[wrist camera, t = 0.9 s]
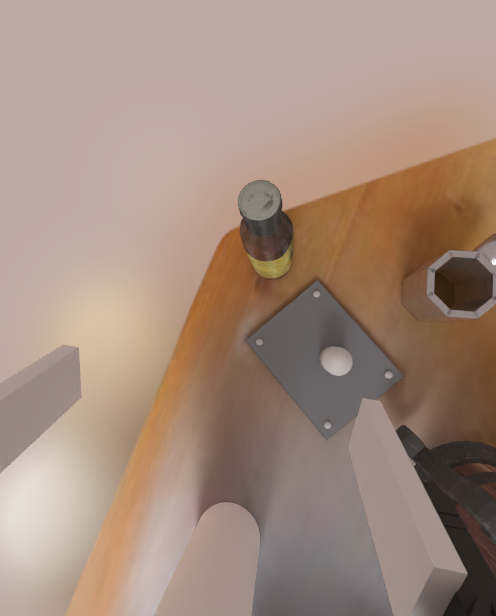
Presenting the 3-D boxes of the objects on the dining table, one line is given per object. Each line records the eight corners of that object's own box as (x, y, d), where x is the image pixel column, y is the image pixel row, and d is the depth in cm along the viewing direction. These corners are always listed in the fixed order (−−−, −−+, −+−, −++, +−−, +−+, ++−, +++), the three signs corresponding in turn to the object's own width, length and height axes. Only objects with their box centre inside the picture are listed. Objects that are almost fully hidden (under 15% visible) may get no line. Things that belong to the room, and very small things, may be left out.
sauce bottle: (299, 270, 46) (309, 219, 27) (262, 287, 47) (245, 250, 27) (281, 233, 47) (278, 158, 28) (245, 250, 48) (217, 188, 28)
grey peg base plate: (401, 375, 43) (420, 381, 37) (325, 437, 43) (331, 453, 37) (316, 281, 46) (321, 272, 40) (246, 340, 46) (240, 340, 40)
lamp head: (429, 333, 43) (461, 331, 35) (389, 291, 44) (412, 280, 36) (495, 278, 43) (543, 265, 35) (454, 237, 44) (490, 215, 36)
